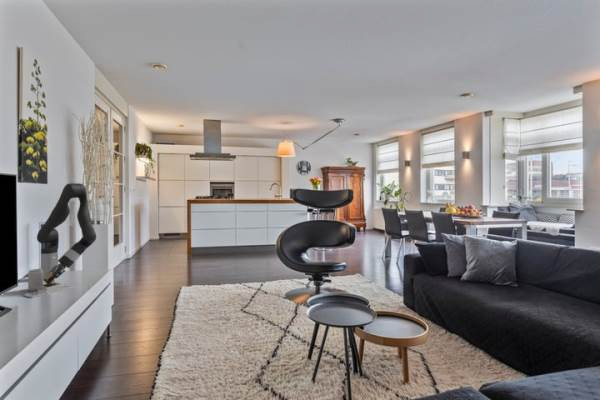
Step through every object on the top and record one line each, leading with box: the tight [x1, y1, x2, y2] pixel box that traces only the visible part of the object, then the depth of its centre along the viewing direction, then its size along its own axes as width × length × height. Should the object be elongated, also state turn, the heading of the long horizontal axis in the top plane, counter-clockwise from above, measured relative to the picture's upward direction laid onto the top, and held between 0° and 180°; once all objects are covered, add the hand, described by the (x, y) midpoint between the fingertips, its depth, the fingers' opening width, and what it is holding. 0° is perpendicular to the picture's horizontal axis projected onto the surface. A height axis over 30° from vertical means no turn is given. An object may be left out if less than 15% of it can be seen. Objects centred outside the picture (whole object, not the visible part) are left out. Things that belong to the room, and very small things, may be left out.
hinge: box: [24, 282, 76, 299], centre depth 208 cm, size 9×23×4 cm, turn 154°
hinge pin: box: [45, 271, 56, 287], centre depth 208 cm, size 4×4×10 cm
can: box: [27, 268, 45, 292], centre depth 213 cm, size 8×8×12 cm
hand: (46, 282), depth 207 cm, fingers closed on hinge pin, 4 cm apart
